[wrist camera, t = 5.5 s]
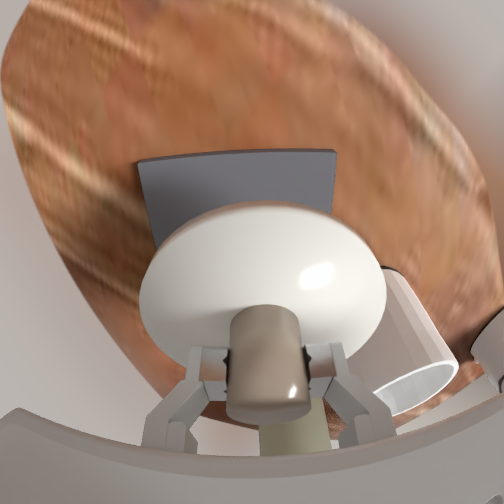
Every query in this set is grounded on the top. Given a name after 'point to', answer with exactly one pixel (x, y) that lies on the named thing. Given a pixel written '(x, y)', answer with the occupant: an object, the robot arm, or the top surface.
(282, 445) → the can
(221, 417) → the top surface
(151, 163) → the mat
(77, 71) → the top surface
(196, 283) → the lid
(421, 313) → the mug
